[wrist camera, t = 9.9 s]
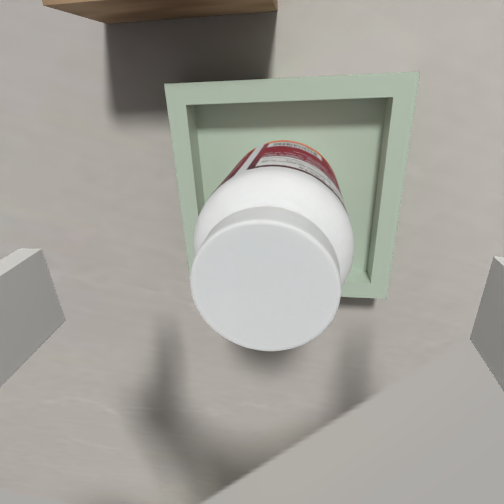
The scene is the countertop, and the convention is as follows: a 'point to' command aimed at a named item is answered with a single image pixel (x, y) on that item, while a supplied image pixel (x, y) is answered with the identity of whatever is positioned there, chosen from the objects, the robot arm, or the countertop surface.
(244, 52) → the countertop surface
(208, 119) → the tray
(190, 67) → the countertop surface
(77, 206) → the countertop surface
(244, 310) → the pill bottle
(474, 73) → the countertop surface
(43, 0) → the rack
